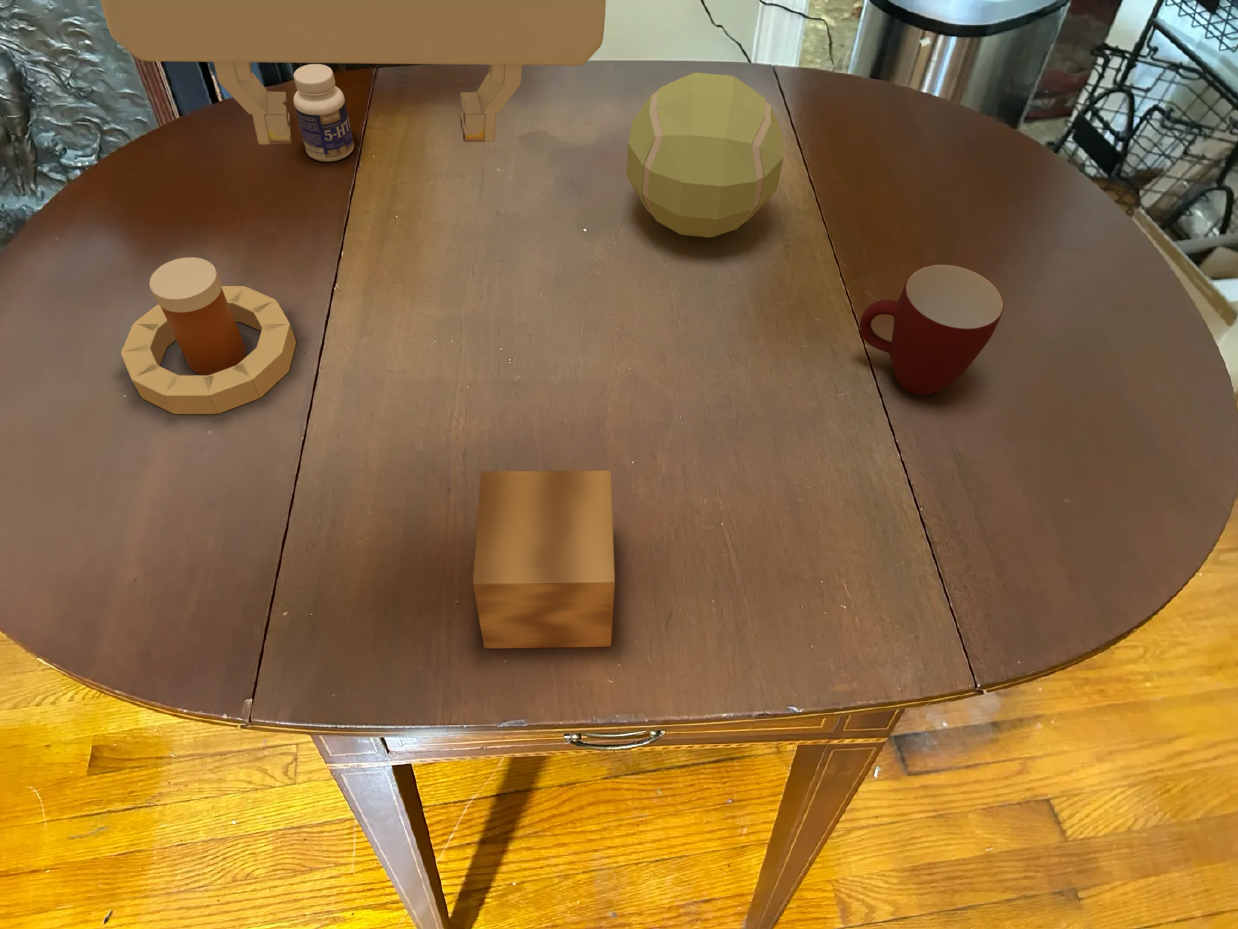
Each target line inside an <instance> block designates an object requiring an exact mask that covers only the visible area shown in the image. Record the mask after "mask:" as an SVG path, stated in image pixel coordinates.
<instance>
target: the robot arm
mask: <svg viewBox="0 0 1238 929" xmlns="http://www.w3.org/2000/svg"><path fill="white" fill-rule="evenodd" d="M99 1H100V3H101V8H102V12H103V15H104V19H105V22H106V25H107V28H108V31H109V34H110V36H111V37H112V39H113V40H115V41H116V42H117V43H118V45H120V46H121V47H122V48H124V49H125V50H126V51H127V52H128V53H130V54H131V55H132V56H134V58H136V59H138V60H140V61H144V62H185V63H186V62H189V63H193V62H194V63H195V62H196V63H197V62H199V63H200V62H203V63H213V65H214V69H215V73H216V80H217V82H218V84H220V86H222V87H223V88H224V89H225V91H226V92H228V94H229V95H230V96H231V97H232V98H233V99H234V100H235V101H236V102H237V103H238V104H239V105H240V106H241V107H242V108H243V109H244V110H245V112H246V113H247V114H248V115H251V116H252V120H253V125H254V130H255V134H256V139H257V143H258V145H273V146H274V145H292V144H293V139H292V138H293V137H292V122H291V116H290V112H289V103H288V97H287V92H286V91H272V90H271V91H270V90H269V91H268V90H267V89H266V87H265V86H264V85H263V83H262V82H261V81H260V80H259V78H258V77H257V76H256V75H255V73H254V72H253V71H252V70H253V69H252V68H253V67H252V64H253V63H284V64H285V63H287V64H288V63H289V64H290V63H291V64H292V63H293V64H294V63H295V64H372V65H373V64H374V65H375V64H376V65H379V64H381V65H382V64H385V65H387V64H388V65H389V64H390V65H473V66H474V65H476V66H477V65H478V66H479V65H481V66H483V65H485V66H487V67H488V73H487V74H486V76H485V78H484V79H483V81H482V82H481V84H480V86H479V87H478V89H477V90H476V91H463V92H460V100H459V101H460V109H461V111H460V112H459V113H460V114H459V115H460V116H459V118H460V130H461V133H462V140H463V143H494V142H495V139H496V138H495V137H496V119H497V118H496V117H497V116H496V115H497V114H499V113H500V112H502V110H503V108H504V107H505V106H506V104H507V103H508V102H509V101H510V99H511V98H512V97H513V95H514V93H516V91H517V89H519V87H520V86H521V84H522V72H523V66H559V67H561V66H562V67H563V66H564V67H565V66H567V67H569V66H570V67H575V66H576V67H577V66H583V65H585V64H586V63H587V62H588V61H589V60H590V59H591V58H592V57H593V56H594V54H596V53H597V51H598V50H599V49H600V48H601V47H602V44H603V42H604V34H605V33H604V32H605V25H606V24H605V23H606V10H607V9H606V5H607V4H606V3H607V0H99Z"/></svg>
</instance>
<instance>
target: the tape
mask: <svg viewBox="0 0 1238 929" xmlns="http://www.w3.org/2000/svg"><path fill="white" fill-rule="evenodd" d="M222 290H223V292H224V295H225V297H226V300H227V302H228V305H229V307H230V310H231V312H232V315H233V317H234V320H235V322H236V323H242V324H244V325H246V326H249V327H250V328H253V329H255V330H257V331H259V332H260V335H259V338H258V342H257V345H256V347H255V348H254V349H253V350H252V351H251V352H250V353H248V355H247V356H245V358H244V359H243V360H242V361H241V362H240V363H239V364H238V365H236V366H233V367H230V368H228V369H225V370H222V371H219V372H217V373H214V374H211V375H200V374H197V375H192V374H191V375H183V374H181V375H179V374H177V373H175V372H172V371H171V370H169V369H166V368H164V367H162V366H161V364H162V361H163V359H164V356H165V353H166V351H167V348H169V346H171V345H172V344H173V343H174V342H175V341H177V340H176V338H175V336H174V334H173V332H172V329H171V327H170V325H169V323H168V321H167V319H166V317H165V315H164V313H163V311H162V309H161V307H160V305H159V304H158V303H157V304H156V305H155V306H154V307H152V308H151V309H150V310H148V311H147V312H146V313H145V314H144V315H142V316H141V317H139V318H138V319H137V320H135V321H134V322H133V323H132V325H131V328H130V330H129V333H128V335H127V337H126V340H125V341H124V344H123V346H122V349H121V352H120V354H121V357H122V360H123V362H124V365H125V367H126V371H127V372H128V375H129V377H130V379H131V381H132V383H133V385H134V387H135V389H136V390H137V392H138V394H139V396H140V397H141V399H142V400H144V401H146V402H148V403H151V404H153V405H155V406H157V407H159V408H161V409H163V410H165V411H167V412H169V413H171V414H174V415H218V414H222V413H225V412H227V411H230V410H233V409H235V408H238V407H241V406H243V405H245V404H246V405H247V404H249V403H251V402H253V401H256V400H259V399H260V398H262V397H264V395H265V394H266V393H268V391H270V390H271V389H272V388H273V387H274V386H275V385H277V383H278V382H279V381H280V380H282V379H283V378H284V377H285V376H286V375H287V374H288V373H289V372H290V368H291V364H292V361H293V357H294V353H295V349H296V345H297V341H296V336H295V335H294V332H293V328H292V326H291V323H290V321H289V319H288V318H287V316H286V314H285V313H284V311H283V309H282V307H281V305H280V304H279V302H278V300H277V299H276V298H273V297H271V296H269V295H266V294H263V293H262V292H260V291H258V290H257V291H256V290H255V289H252V288H250V287H248V286H244V285H234V286H233V285H222Z"/></svg>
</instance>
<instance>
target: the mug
mask: <svg viewBox="0 0 1238 929" xmlns="http://www.w3.org/2000/svg"><path fill="white" fill-rule="evenodd" d="M1004 304H1005V303H1004V299H1003V296H1002V294H1001V292H1000V291H999V289H998V288H997V286H995V285H994V284H993V283H992V281H990V280H989V279H988V278H986V277H985V276H983V275H982V274H980V273H978V272H976V271H974V270H972V269H969V268H966V267H963V266H958V265H955V264H954V265H953V264H942V263H941V264H940V263H939V264H931V265H926V266H923V267H920V268H918V269H916V270H914V272H912V273H911V274H910V275H909V276H908V278H907V280H906V281H905V284H904V286H903V288H902V291H901V294H900V295H899V298H898V300H891V299H880V300H877V301H875V302H872V304H871V305H869V306H868V307H866V308H865V310H864V311H863V313H862V315H861V317H860V320H859V332H860V335H861V337H862V339H863V340H864V341H865V342H866V344H868V345H870V346H871V347H873V348H875V349H877V350H880V351H882V352H884V353H888V354H889V356H890V361H891V365H892V369H893V371H894V374H895V377H896V380H897V382H898V384H899V385H900V386H901V388H903V389H904V390H905V391H907V392H908V393H911V394H913V395H917V396H930V395H933V394H936V393H938V392H940V391H942V390H944V389H945V388H947V387H949V386H950V385H952V384H954V383H955V382H956V381H958V380H959V379H960V378H961V377H962V375H964V373H965V372H966V371H967V369H968V368H969V367H970V366H971V364H972V363H973V362H974V360H976V358H977V357H978V356H979V354H981V352H982V350H983V349H984V348H985V347H986V345H987V344H988V342H989V341H990V340H991V338H992V336H993V334H994V332H995V330H996V328H997V327H998V324H999V322H1000V319H1001V317H1002V315H1003V312H1004V307H1005V305H1004ZM881 315H887V316H892V317H893V329H892V335H891V336H892V337H891V340H887V339H885V338H883V337H881V336H879V335H878V334H877V333H876V332H875V331H874V330H873V328H872V321H873V320H874V319H875V318H876V317H878V316H881Z"/></svg>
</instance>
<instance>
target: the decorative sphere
mask: <svg viewBox="0 0 1238 929" xmlns="http://www.w3.org/2000/svg"><path fill="white" fill-rule="evenodd" d="M784 157H785V156H784V134H783V132H782V129H781V127H780V124H779V122H778V119H777V116H776V114H775V112H774V109H773V107H772V105H771V104H770V103H768V101H766V97H764V96H763V95H761V94H760V93H759V92H757V91H756V90H754V89H753V88H752V87H750V86H749V85H747V84H746V83H744V81H742V80H740V79H739V78H737V77H736V76H735V75H729V74H727V75H726V74H717V73H706V72H692V73H690V74H687V75H685V76H683V77H681V78H678V79H676V80H673V81H671V82H668V83H667V84H664V85H663V86H661V87H659V88H658V90H657V91H655V92H654V93H651V95H650V96H649V97H648V98H647V100H646V102H645V103H644V104H643V105H642V107H641V108H640V110H639V111H638V112H637V114H636V116H635V117H634V118H633V120H632V121H631V124H630V132H629V136H628V142H627V160H626V163H627V164H626V177H627V180H628V181H629V182H630V184H631V186H632V188H633V190H634V191H635V193H636V194H637V196H638V198H639V199H640V201H641V204H642V205H643V206H644V208H645V209H646V211H647V212H648V213H650V214H651V215H652V217H653V218H654V220H655V221H656V222H657V223H659V224H661V225H663V226H665V227H666V228H668V229H670V230H671V231H673V232H675V233H677V234H679V235H682V236H693V237H701V238H703V237H704V238H714V237H717V236H720V235H723V234H726V233H729V232H732V231H735V230H738V229H739V228H740V227H741V226H742V225H743V224H744V223H748V221H749V220H751V218H752V217H753V216H754V215H755V214H756V213H757V212H758V211H759V209H761V207H763V205H764V204H765V203H766V202H767V201H768V200H769V199H770V198H771V197H772V195H774V194H775V193H776V192H777V191H778V186H779V182H780V177H781V173H782V172H781V171H782V167H783V163H784Z"/></svg>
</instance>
